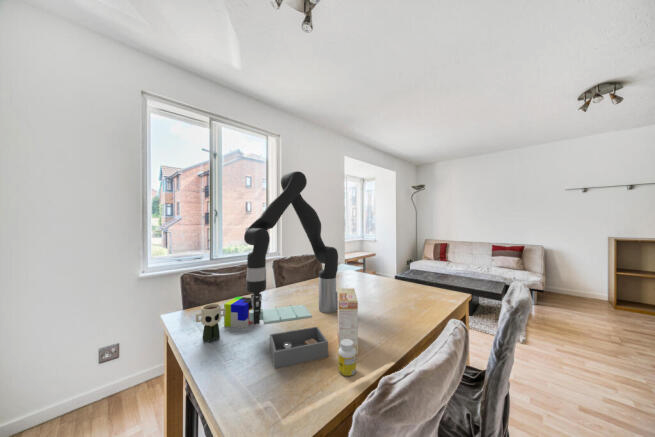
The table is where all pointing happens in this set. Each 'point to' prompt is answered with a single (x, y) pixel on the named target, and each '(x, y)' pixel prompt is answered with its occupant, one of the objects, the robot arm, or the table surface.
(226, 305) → the puzzle toy
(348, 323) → the coffeecake box
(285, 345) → the steel bushing
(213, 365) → the table surface
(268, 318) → the lid
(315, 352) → the tub
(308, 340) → the walnut block
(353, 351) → the supplement bottle
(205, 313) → the character mug
